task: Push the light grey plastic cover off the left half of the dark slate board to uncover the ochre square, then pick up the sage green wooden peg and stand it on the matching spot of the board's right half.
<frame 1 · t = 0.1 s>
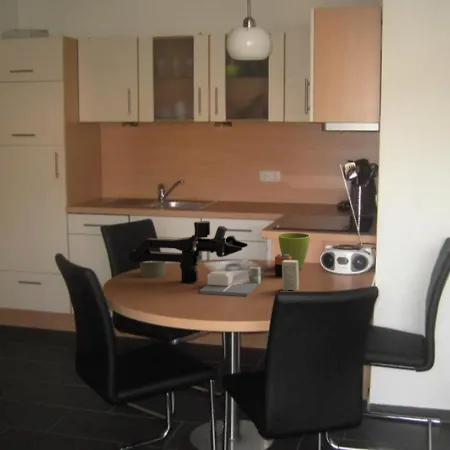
hand: (244, 246, 286), 17 cm above the table, tool horizontal, fingers open, 9 cm apart
cover: (220, 277, 285), point 4 cm above the table, slide at 0.0 cm
can: (153, 275, 310), on the table
battery: (283, 276, 304), on the table
peg: (254, 283, 291), on the table
flower pot: (294, 269, 319), on the table
skincare box: (290, 290, 279), on the table
layout board: (228, 289, 280), on the table
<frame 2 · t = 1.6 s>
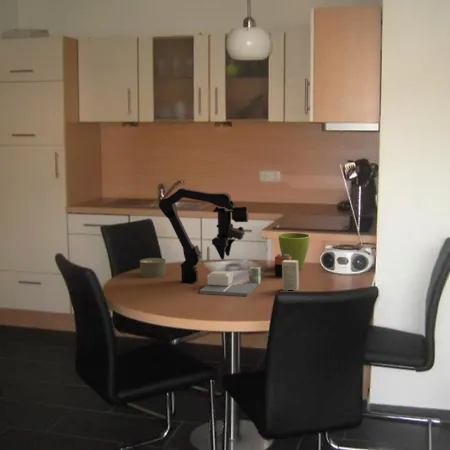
hand: (225, 257, 292), 11 cm above the table, tool pointing down, fingers open, 8 cm apart
nothing on the table moved.
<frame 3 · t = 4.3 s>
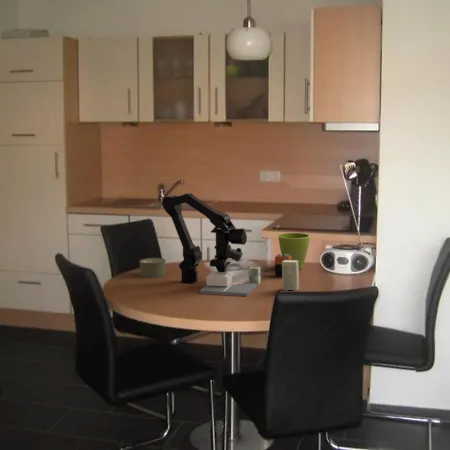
hand: (222, 278, 289), 3 cm above the table, tool pointing down, fingers closed
cover: (219, 278, 284), point 4 cm above the table, slide at 1.3 cm, touching gripper
everything else where it was.
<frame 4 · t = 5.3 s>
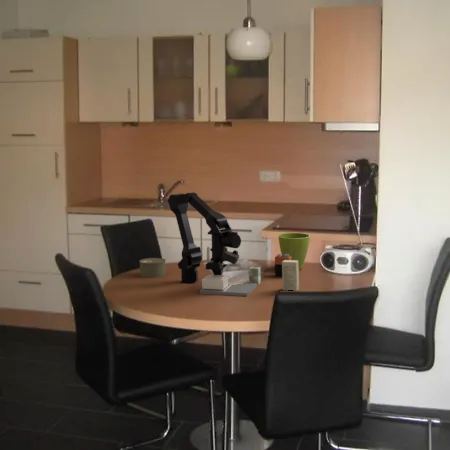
hand: (219, 281, 284), 3 cm above the table, tool pointing down, fingers closed
cover: (215, 281, 278), point 4 cm above the table, slide at 7.0 cm, touching gripper
everything else where it was.
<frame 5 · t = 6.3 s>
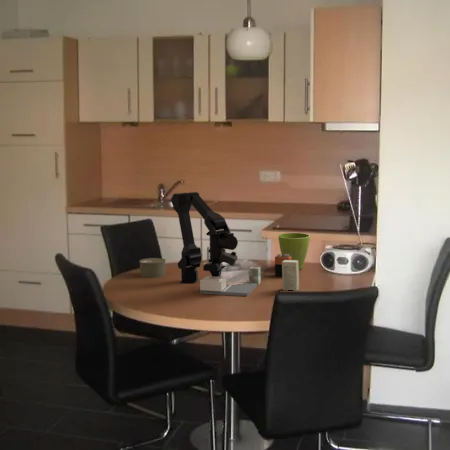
hand: (217, 283, 281), 3 cm above the table, tool pointing down, fingers closed
cover: (213, 283, 276), point 4 cm above the table, slide at 9.8 cm, touching gripper
everything else where it was.
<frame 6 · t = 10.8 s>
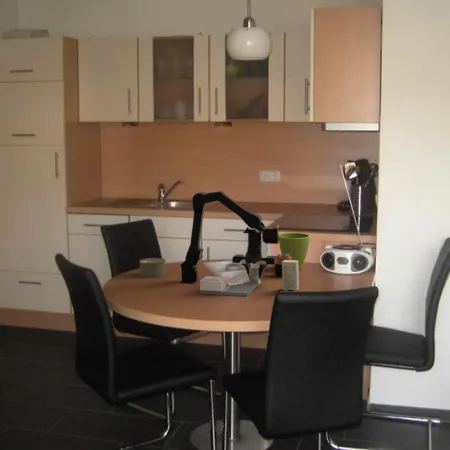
hand: (254, 278, 290), 2 cm above the table, tool pointing down, fingers closed on peg, 4 cm apart
cover: (213, 283, 276), point 4 cm above the table, slide at 9.8 cm
peg: (254, 283, 291), on the table, touching gripper
everything else where it was.
when the fingers open (4 cm above the table, at t = 16.6 s): peg drops 1 cm, resting on layout board.
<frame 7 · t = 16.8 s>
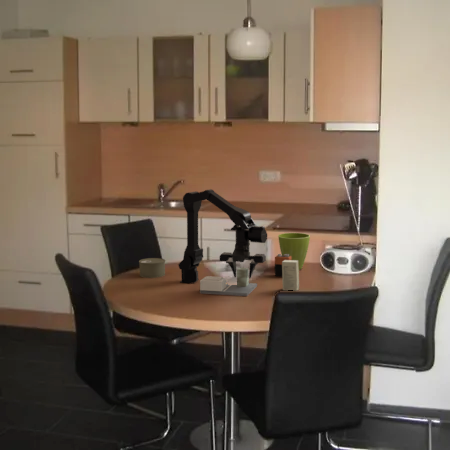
hand: (242, 277, 282), 4 cm above the table, tool pointing down, fingers open, 6 cm apart
peg: (242, 285, 283), point 1 cm above the table, touching layout board
everything else where it was.
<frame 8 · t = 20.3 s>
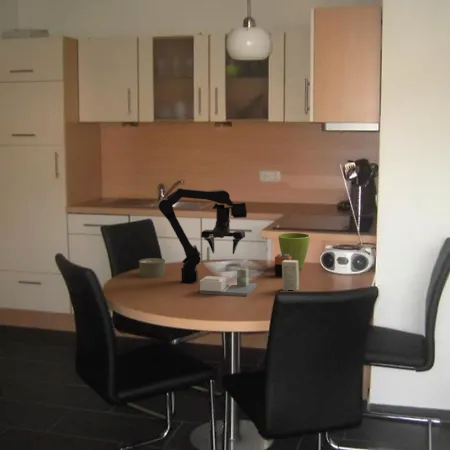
hand: (223, 253, 296), 12 cm above the table, tool pointing down, fingers open, 9 cm apart
nothing on the table moved.
at the end: cover slide at 9.8 cm; peg 0.1 cm from the target spot on the layout board, point 1.2 cm above the layout board's base; peg tilted 0° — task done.
